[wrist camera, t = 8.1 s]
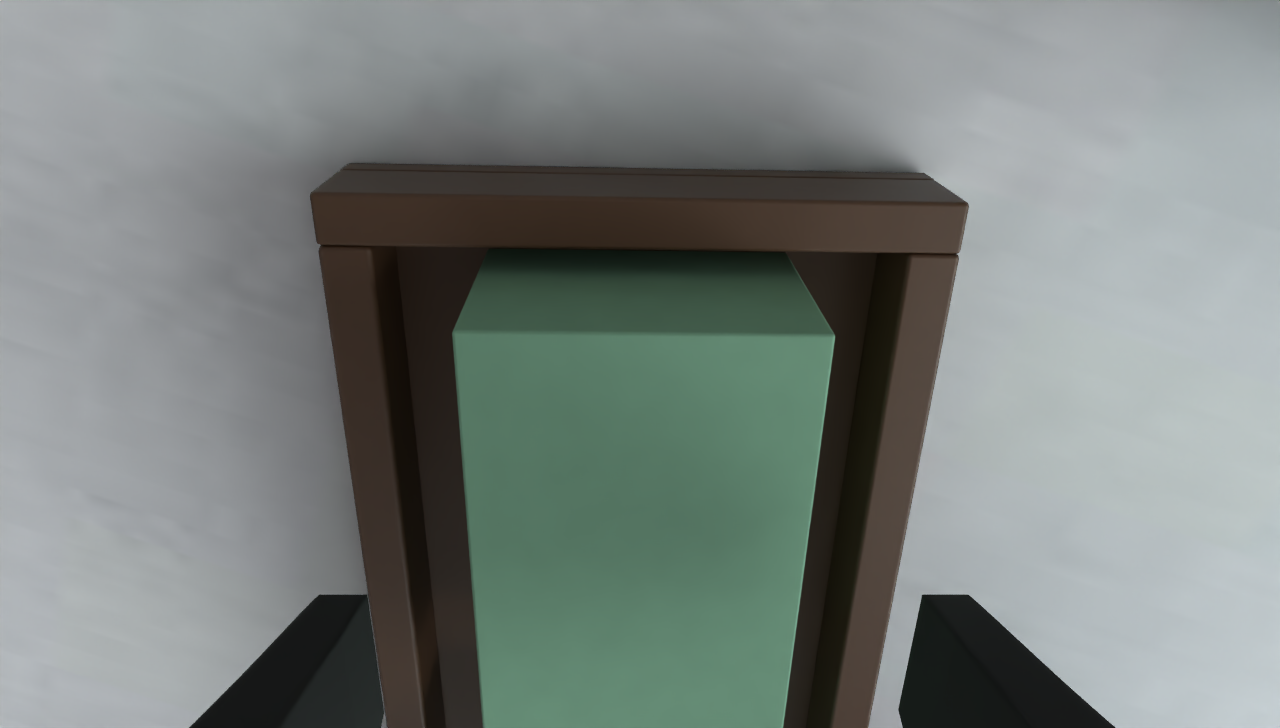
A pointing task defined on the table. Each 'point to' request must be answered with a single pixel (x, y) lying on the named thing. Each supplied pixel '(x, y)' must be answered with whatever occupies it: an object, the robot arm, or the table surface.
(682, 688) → the green rectangular block
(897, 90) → the table surface
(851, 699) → the shallow wooden tray
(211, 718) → the robot arm
